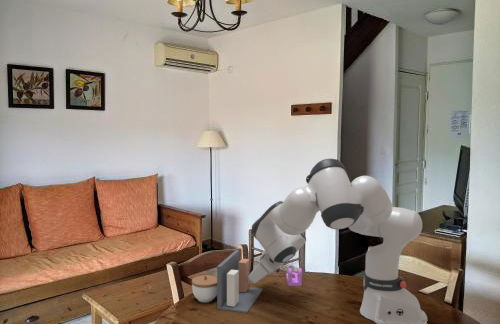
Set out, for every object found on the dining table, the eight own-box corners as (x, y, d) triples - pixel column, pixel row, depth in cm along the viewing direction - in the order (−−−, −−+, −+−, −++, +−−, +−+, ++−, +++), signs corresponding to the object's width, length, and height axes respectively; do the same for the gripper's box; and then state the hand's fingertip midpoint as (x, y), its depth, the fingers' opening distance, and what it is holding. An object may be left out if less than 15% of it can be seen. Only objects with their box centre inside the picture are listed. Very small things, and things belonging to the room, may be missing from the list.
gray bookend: (262, 290, 165) (262, 252, 164) (247, 312, 144) (247, 269, 143) (236, 287, 168) (236, 249, 167) (217, 308, 147) (217, 266, 146)
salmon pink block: (249, 287, 165) (249, 259, 164) (245, 292, 160) (245, 263, 159) (242, 287, 166) (242, 258, 165) (238, 291, 161) (238, 262, 160)
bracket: (301, 285, 170) (301, 269, 170) (288, 285, 170) (288, 269, 170) (297, 275, 183) (297, 260, 183) (285, 275, 183) (285, 260, 183)
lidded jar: (225, 299, 156) (225, 275, 156) (204, 307, 148) (204, 282, 148) (207, 291, 164) (207, 269, 163) (186, 299, 156) (185, 275, 155)
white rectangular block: (238, 301, 152) (238, 270, 151) (234, 306, 147) (234, 274, 146) (231, 300, 152) (231, 269, 152) (226, 305, 148) (226, 273, 147)
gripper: (273, 245, 169) (250, 266, 172) (260, 259, 149) (235, 282, 153) (283, 256, 168) (260, 277, 171) (272, 272, 148) (247, 295, 152)
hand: (248, 279), depth 162 cm, fingers closed, pressing on salmon pink block
